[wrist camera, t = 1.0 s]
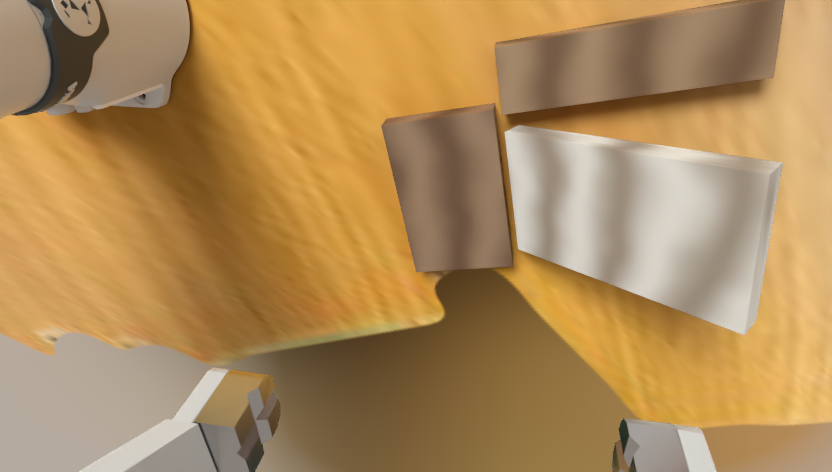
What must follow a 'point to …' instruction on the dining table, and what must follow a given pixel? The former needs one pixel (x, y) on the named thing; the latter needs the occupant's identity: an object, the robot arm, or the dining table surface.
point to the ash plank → (647, 218)
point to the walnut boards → (549, 88)
